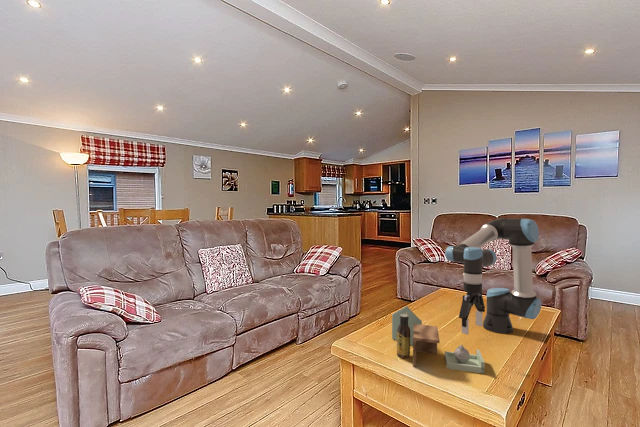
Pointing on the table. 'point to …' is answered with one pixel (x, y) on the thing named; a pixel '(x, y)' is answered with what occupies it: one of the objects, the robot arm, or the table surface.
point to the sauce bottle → (403, 337)
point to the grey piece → (411, 321)
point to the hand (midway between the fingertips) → (472, 329)
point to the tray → (472, 365)
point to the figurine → (462, 354)
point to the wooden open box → (424, 340)
